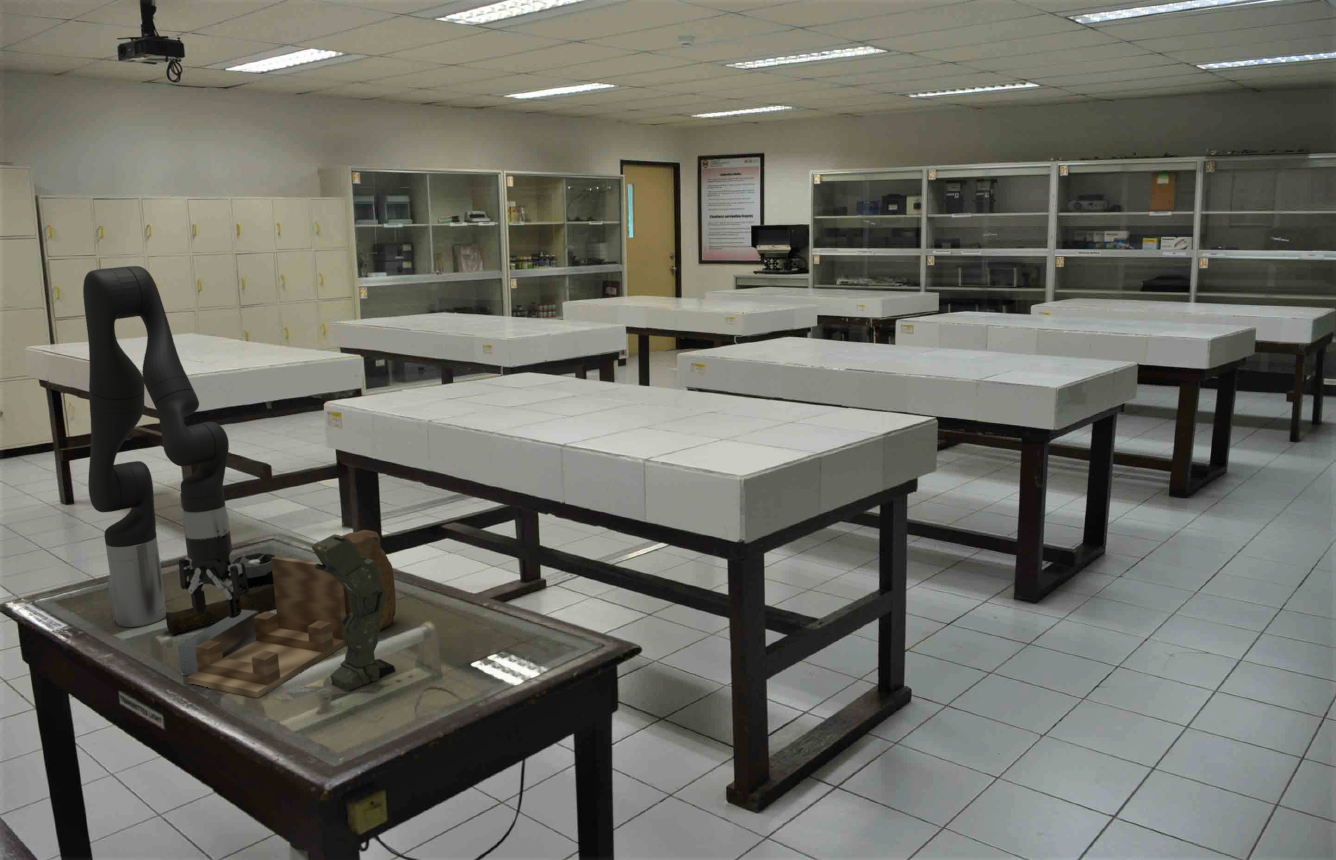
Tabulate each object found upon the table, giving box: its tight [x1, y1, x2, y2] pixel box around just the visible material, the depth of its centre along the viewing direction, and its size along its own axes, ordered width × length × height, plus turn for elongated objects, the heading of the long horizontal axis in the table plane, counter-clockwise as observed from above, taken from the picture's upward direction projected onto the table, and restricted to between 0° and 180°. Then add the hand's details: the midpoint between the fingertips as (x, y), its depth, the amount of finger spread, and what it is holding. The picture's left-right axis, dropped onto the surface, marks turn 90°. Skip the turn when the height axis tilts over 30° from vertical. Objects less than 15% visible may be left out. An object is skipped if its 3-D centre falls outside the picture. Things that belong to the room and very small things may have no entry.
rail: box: [177, 610, 259, 677], centre depth 182 cm, size 4×17×6 cm, turn 166°
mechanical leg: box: [311, 533, 396, 692], centre depth 170 cm, size 13×7×29 cm, turn 140°
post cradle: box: [186, 555, 347, 699], centre depth 178 cm, size 16×24×16 cm
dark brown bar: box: [165, 584, 276, 636], centre depth 199 cm, size 23×5×6 cm, turn 128°
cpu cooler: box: [230, 552, 276, 589], centre depth 221 cm, size 10×6×10 cm
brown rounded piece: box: [342, 529, 397, 632], centre depth 193 cm, size 11×8×20 cm
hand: (217, 613), depth 181 cm, fingers open, 8 cm apart
